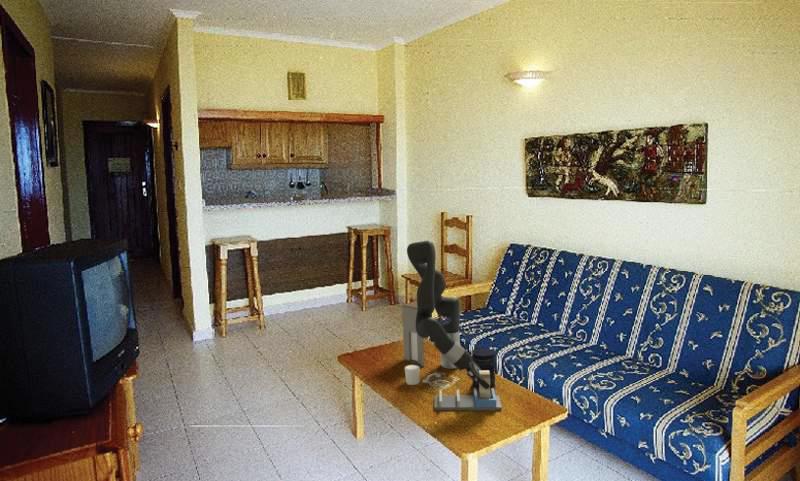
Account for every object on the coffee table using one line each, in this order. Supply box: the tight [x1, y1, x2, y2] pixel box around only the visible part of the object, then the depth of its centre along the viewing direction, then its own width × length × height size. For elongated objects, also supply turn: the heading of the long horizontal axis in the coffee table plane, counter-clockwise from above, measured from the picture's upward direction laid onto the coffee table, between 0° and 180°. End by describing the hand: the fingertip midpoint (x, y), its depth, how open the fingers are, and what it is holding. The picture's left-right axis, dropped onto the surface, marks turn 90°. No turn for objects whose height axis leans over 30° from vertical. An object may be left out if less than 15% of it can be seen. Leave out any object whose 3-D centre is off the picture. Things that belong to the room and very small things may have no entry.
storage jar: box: [471, 342, 496, 390], centre depth 229 cm, size 10×10×18 cm
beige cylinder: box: [404, 364, 421, 386], centre depth 236 cm, size 7×7×7 cm
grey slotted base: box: [433, 387, 503, 411], centre depth 212 cm, size 11×26×4 cm, turn 85°
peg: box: [478, 370, 491, 399], centre depth 211 cm, size 4×4×12 cm
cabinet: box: [401, 300, 425, 368], centre depth 263 cm, size 21×10×28 cm, turn 179°
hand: (487, 383), depth 211 cm, fingers open, 8 cm apart
